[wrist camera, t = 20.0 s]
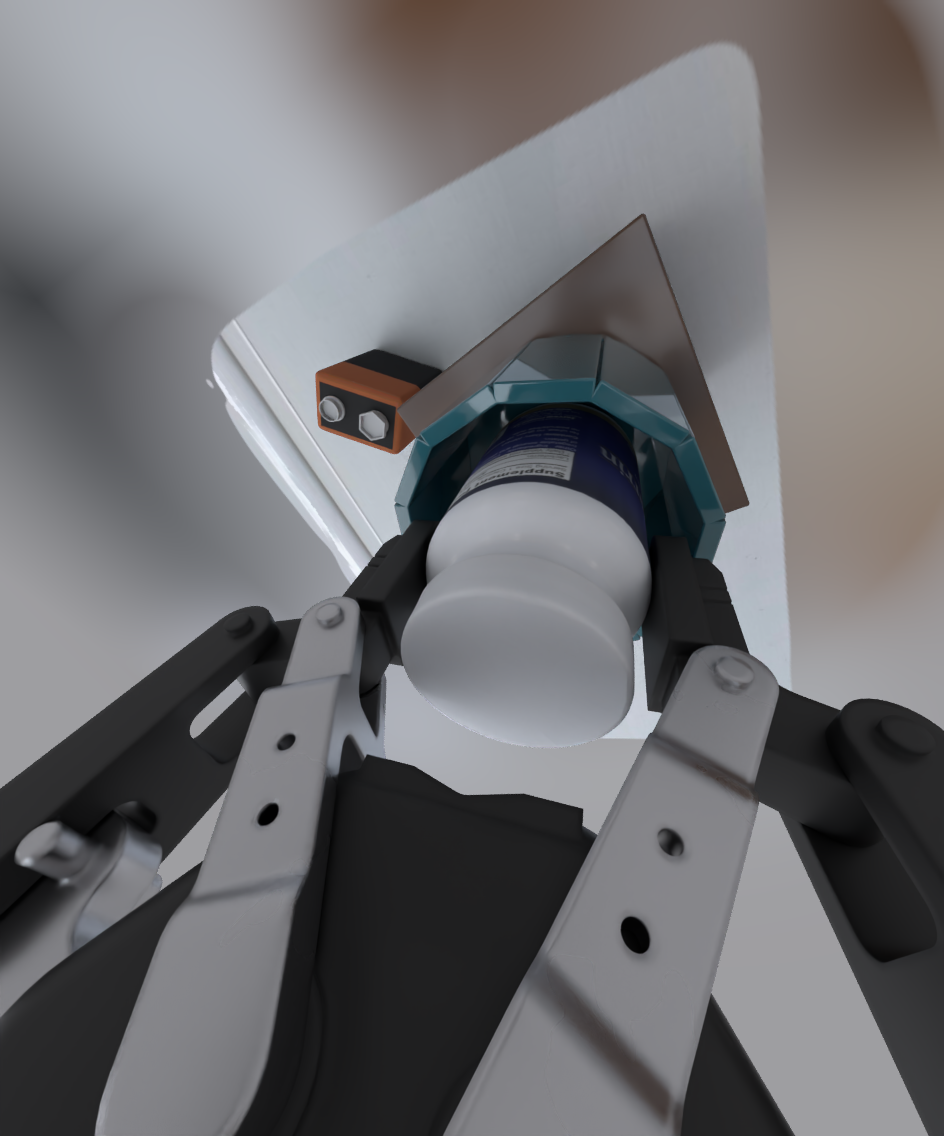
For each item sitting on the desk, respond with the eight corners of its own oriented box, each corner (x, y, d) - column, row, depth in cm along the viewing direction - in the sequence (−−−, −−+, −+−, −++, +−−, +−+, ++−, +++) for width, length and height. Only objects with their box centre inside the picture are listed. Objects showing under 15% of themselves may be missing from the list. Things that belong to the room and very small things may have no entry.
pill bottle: (647, 523, 15) (679, 775, 8) (512, 544, 18) (439, 754, 10) (625, 372, 12) (643, 547, 5) (467, 423, 15) (321, 592, 7)
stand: (490, 343, 31) (395, 409, 17) (627, 236, 25) (644, 211, 12) (556, 459, 35) (520, 584, 22) (687, 390, 29) (750, 505, 16)
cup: (424, 417, 17) (342, 487, 12) (624, 270, 12) (633, 280, 7) (526, 566, 21) (497, 670, 15) (715, 496, 16) (764, 614, 11)
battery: (438, 420, 36) (392, 462, 28) (371, 397, 36) (308, 433, 29) (446, 370, 33) (397, 403, 26) (373, 346, 34) (304, 372, 26)
